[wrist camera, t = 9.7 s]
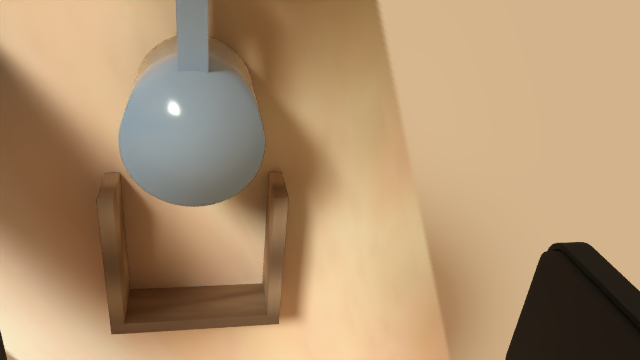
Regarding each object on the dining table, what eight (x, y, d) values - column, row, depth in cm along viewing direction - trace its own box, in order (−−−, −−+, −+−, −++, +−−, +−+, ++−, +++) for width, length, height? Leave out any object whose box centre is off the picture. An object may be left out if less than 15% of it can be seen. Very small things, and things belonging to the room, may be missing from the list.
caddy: (105, 172, 40) (96, 200, 36) (281, 172, 42) (288, 198, 39) (118, 299, 45) (111, 334, 42) (273, 292, 48) (278, 323, 45)
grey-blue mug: (126, -62, 33) (102, -44, 25) (258, -51, 34) (274, -31, 27) (139, 142, 39) (124, 207, 31) (250, 143, 41) (262, 205, 33)
